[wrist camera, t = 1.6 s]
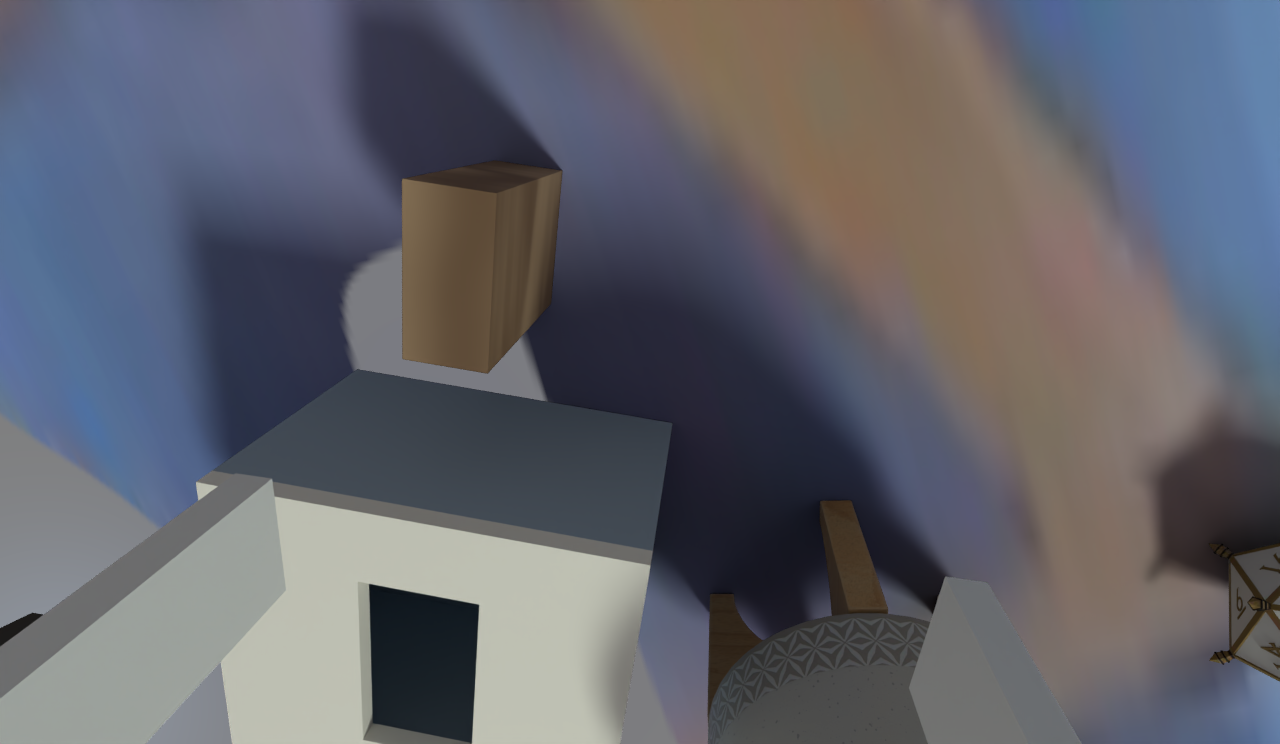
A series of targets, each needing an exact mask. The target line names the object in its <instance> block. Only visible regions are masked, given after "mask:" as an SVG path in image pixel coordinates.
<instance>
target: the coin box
mask: <svg viewBox="0 0 1280 744" xmlns="http://www.w3.org/2000/svg"><path fill="white" fill-rule="evenodd" d="M672 424H673V423H669V422H663V421H657V420H651V419H645V418H640V417H634V416H628V415H622V414H616V413H610V412H604V411H599V410H593V409H587V408H581V407H575V406H569V405H563V404H558V403H552V402H546V401H539V400H534V399H528V398H522V397H517V396H511V395H505V394H499V393H493V392H487V391H481V390H475V389H469V388H464V387H458V386H452V385H446V384H440V383H434V382H429V381H423V380H416V379H411V378H405V377H400V376H394V375H387V374H382V373H375V372H370V371H364V370H359V369H357V370H356V371H354V372H353V373H351V374H350V375H349V376H347V377H346V378H344V379H343V380H341V381H340V382H339V383H337V384H336V385H334V386H333V387H331V388H330V389H328V390H327V391H326V392H324V393H323V394H321V395H320V396H318V397H317V398H316V399H314V400H313V401H311V402H310V403H308V404H307V405H306V406H304V407H303V408H301V409H300V410H298V411H297V412H296V413H294V414H293V415H291V416H290V417H288V418H287V419H286V420H284V421H283V422H281V423H280V424H278V425H277V426H276V427H274V428H273V429H271V430H270V431H268V432H267V433H266V434H264V435H263V436H261V437H260V438H258V439H257V440H256V441H254V442H253V443H251V444H250V445H248V446H247V447H246V448H244V449H243V450H241V451H240V452H238V453H237V454H235V455H234V456H233V457H231V458H230V459H228V460H227V461H225V462H224V463H223V464H221V465H220V466H218V467H217V468H215V469H214V470H213V471H211V472H210V473H208V474H207V475H205V476H204V477H203V478H201V479H200V480H198V481H197V482H196V486H197V493H198V501H199V500H200V499H201V498H203V497H204V496H205V495H207V494H208V493H209V492H211V491H212V490H214V489H215V488H216V487H218V486H219V485H220V484H222V483H223V482H224V481H226V480H227V479H228V478H230V477H231V476H233V475H234V474H235V473H237V474H244V475H251V476H258V477H265V478H272V481H273V489H274V497H275V505H276V513H277V521H278V529H279V537H280V545H281V553H282V561H283V569H284V577H285V585H286V591H285V592H284V593H283V594H282V595H281V596H280V597H279V598H278V600H277V601H276V602H275V603H274V604H273V605H272V606H271V607H270V608H269V609H268V610H267V612H266V613H265V614H264V615H263V616H262V617H261V618H260V619H259V620H258V621H257V623H256V624H255V625H254V626H253V627H252V628H251V629H250V630H249V631H248V632H247V633H246V635H245V636H244V637H243V638H242V639H241V640H240V641H239V642H238V643H237V644H236V646H235V647H234V648H233V649H232V650H231V651H230V652H229V653H228V654H227V655H226V656H225V658H224V659H223V660H222V661H221V666H222V674H223V681H224V689H225V695H226V703H227V710H228V717H229V725H230V732H231V739H232V744H620V742H621V736H622V730H623V724H624V719H625V713H626V707H627V701H628V695H629V689H630V683H631V677H632V672H633V666H634V660H635V654H636V648H637V642H638V637H639V631H640V625H641V619H642V613H643V607H644V601H645V596H646V590H647V584H648V578H649V572H650V566H651V560H652V553H653V547H654V541H655V534H656V528H657V521H658V515H659V508H660V502H661V495H662V489H663V482H664V476H665V469H666V463H667V456H668V450H669V444H670V437H671V431H672Z"/></svg>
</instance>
